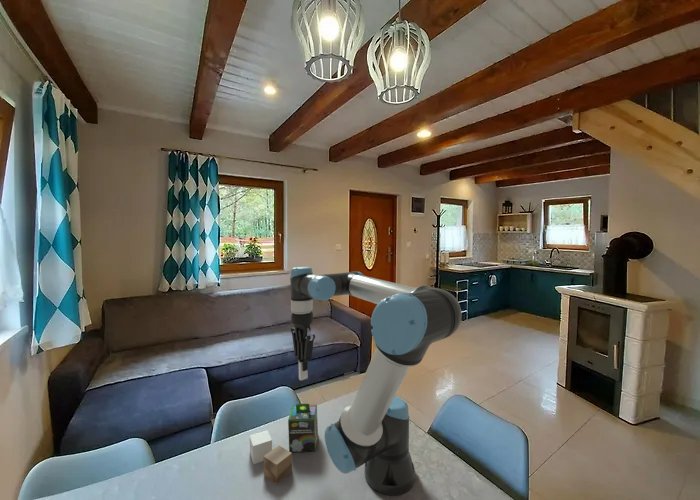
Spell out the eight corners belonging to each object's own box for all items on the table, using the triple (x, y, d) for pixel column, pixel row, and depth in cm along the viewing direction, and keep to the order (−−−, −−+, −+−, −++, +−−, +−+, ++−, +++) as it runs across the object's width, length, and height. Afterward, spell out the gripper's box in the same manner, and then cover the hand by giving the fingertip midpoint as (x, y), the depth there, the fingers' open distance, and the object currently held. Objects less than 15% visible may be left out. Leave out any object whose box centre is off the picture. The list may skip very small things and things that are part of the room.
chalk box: (318, 434, 110) (317, 395, 109) (315, 452, 101) (315, 409, 100) (292, 435, 110) (292, 395, 109) (288, 453, 100) (287, 409, 100)
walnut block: (292, 472, 92) (291, 453, 92) (276, 484, 87) (276, 464, 87) (279, 463, 96) (279, 445, 96) (263, 475, 91) (263, 456, 91)
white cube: (272, 457, 98) (271, 440, 98) (253, 464, 95) (253, 446, 95) (267, 446, 104) (267, 429, 103) (249, 452, 101) (249, 435, 101)
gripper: (321, 313, 101) (322, 382, 102) (302, 306, 111) (303, 369, 112) (301, 316, 96) (303, 389, 97) (283, 310, 106) (284, 375, 107)
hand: (303, 378), depth 104 cm, fingers closed
